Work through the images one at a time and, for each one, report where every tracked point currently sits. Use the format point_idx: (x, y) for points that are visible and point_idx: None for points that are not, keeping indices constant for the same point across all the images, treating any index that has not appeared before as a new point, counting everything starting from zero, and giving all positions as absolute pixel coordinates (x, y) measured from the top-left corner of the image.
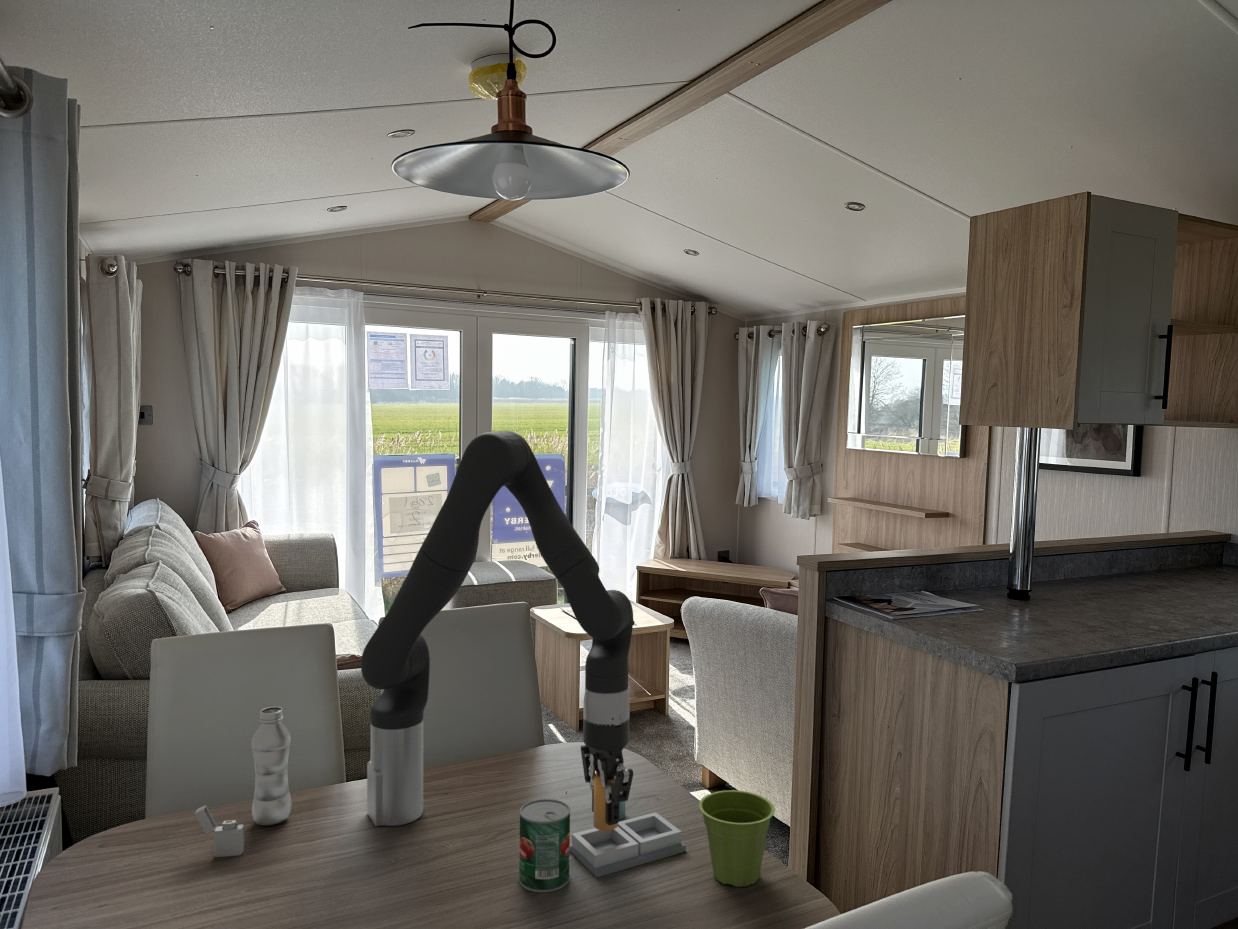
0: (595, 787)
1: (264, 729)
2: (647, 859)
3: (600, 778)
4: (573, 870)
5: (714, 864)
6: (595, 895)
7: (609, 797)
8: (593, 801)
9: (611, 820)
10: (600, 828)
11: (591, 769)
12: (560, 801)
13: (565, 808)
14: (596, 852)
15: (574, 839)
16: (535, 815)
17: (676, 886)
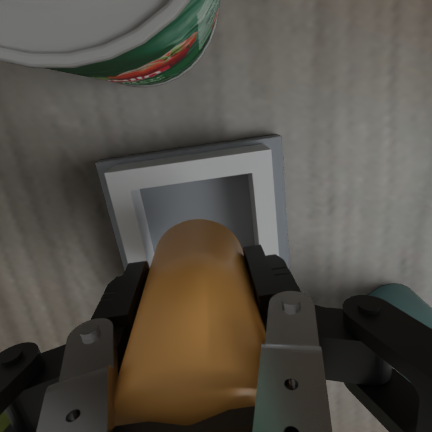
0: (183, 322)
1: None
2: None
3: (187, 402)
4: (159, 110)
5: (6, 423)
6: (12, 125)
7: (67, 351)
8: (255, 268)
9: (111, 283)
10: (166, 234)
11: (288, 408)
12: (147, 25)
13: (42, 34)
14: (124, 184)
15: (250, 150)
16: None
17: (20, 319)
